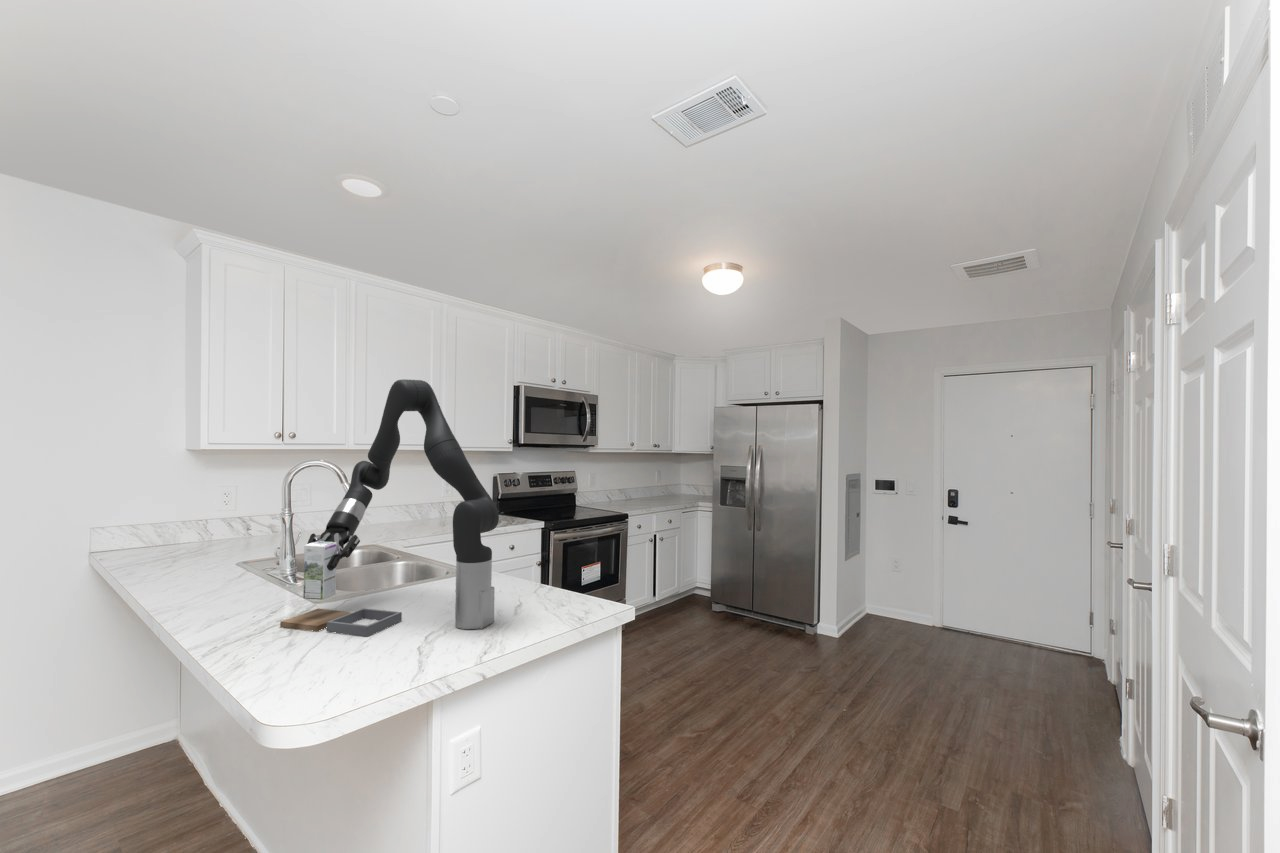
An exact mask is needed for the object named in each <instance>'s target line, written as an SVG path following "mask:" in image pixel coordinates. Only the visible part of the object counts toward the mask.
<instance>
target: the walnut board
mask: <svg viewBox="0 0 1280 853" xmlns="http://www.w3.org/2000/svg"><path fill="white" fill-rule="evenodd" d="M352 612H353V611H352ZM352 612H351V611H344V610H336V609H335V610H334V609H333V610H332V609H326V608H316V609H312V610H310V611H306V612H304V613H302V614H298V615H295V616H292V617H290V618H287V619H283V620H280V623H279V624H280V625H279V627H280V628H282V627H285V628H284V629H290V628H294V629H293V630H298V629H305V630H304V631H306V630H313V631H312V632H314V631H318V632H320V631H319V630H321V629H323V630H325V629H324V628H326V627H327V622H328V621H331V620H333V619H336V618H338V617H341V616H344V615H346V614H349V613H352ZM321 631H322V630H321Z"/></svg>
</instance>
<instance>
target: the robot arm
mask: <svg viewBox="0 0 1280 853" xmlns="http://www.w3.org/2000/svg"><path fill="white" fill-rule="evenodd" d="M404 412H418V413H419V415H420V416H421V418H422V421H423V422H424V424H425V429H426V430H425V435H424V440H423V450H424V454H425V456H426V458H427V460H428V462H429V464H430V466H431V467H432V469H433V471H434V472H435V473H436V474H437V475H438V476H439V477H440V478H441V479H443V480H444V481H445V482H446V483H447V484H448V485H450V487H452V488H454V490H456V491H457V492H458V494H459V495H460V496H461V498H462V499H463V501H461V502H460V503H458V504H456V506H455V508H454V510H453V515H452V540H453V541H452V544H453V549H454V552H455V558H456V560H455V603H454V604H455V605H454V606H455V608H454V610H455V612H454V613H455V614H454V618H455V619H454V626H455V627H456V628H458V629H460V630H462V629H463V630H475V629H477V630H478V629H480V630H481V629H485V628H486V627H487V626H489V625H491V624H492V623H495V590H496V589H495V586H493V585H492V575H493V574H492V570H493V569H492V567H493V564H492V563H493V550H492V548H491V547H490V546H486V545H484V544H483V543H482V536H481V534H483V533H488V532H491V531H494V529H496V528H497V527H498V525H499V521H500V514H499V510H498V508H497V506H496V503H495V502H494V500H493V499H492V497H491V496H490V494H489V493H488V492H487V490H486V489H485V487H484V486H483V484H482V483H481V481H480V480H479V478H478V477H477V475H476V474H475V472H474V469H473V468H472V466H471V464H470V463H469V461H468V459H467V457H466V455H465V452H464V451H463V449H462V447H461V445H460V444H459V442H458V440H457V439H456V437H455V435H454V434H453V431H452V429H451V427H450V425H449V423H448V421H447V420H446V417H445V416H444V413H443V411H442V408H441V406H440V403H439V401H438V398H437V395H436V393H435V392H434V389H433V388H432V386H431V385H430V384H429V383H428V382H427V381H425V380H421V379H398V380H395V381H394V382H393V384H391V387H390V389H389V391H388V394H387V398H386V402H385V405H384V408H383V412H382V417H381V421H380V425H379V429H378V431H377V433H376V435H375V438H374V440H373V442H372V444H371V446H370V449H369V451H368V453H367V458H368V460H369V461H367V460H361V461H359V462H357V463H356V464H355V465H354V467H353V470H352V473H351V479H350V483H349V484H350V485H349V487H348V490H347V491H346V493H345V495H344V496H343V498H342V500H341V501H340V503H339V504H338V505H337V506H336V509H335V510H334V512H333V514H332V515H331V516H330V519H329V520H328V522H327V524H326V526H325V530H324V531H323V532H322V533H320V534H317V535H316V534H315V533H311V534H310V536H309V538H308V541H307V544H309V543H312V542H336V543H337V546H336V550H335V555H333V556H332V557H331V559H330V561H329V563H328V565H327V568H328V569H329V571H333V569H335V568H337V566H338V564H339V563H340V560H342V559H343V558H346V559H347V558H348V559H349V557H350V556H351V555H352V554H353V552H354V551H355V550H356V548H357V546H358V545H359V544H360V542H361V540H360V538H359V537H358V535H357V534H356V531H357V529H358V527H359V525H360V523H361V522H362V520H363V518H364V515H365V512H366V510H367V508H368V506H369V505H370V503H371V501H372V499H373V493H372V491H371V490H370V489H369V488H371V489H373V490H377V491H379V490H381V489H383V488H385V487H386V486H387V484H388V482H389V480H390V473H391V472H390V471H391V464H392V461H393V459H394V458H395V455H396V453H397V450H398V449H399V446H400V444H401V436H400V435H401V434H400V430H399V420H400V418H401V417H402V414H403V413H404ZM307 544H306V545H307Z"/></svg>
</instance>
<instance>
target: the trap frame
mask: <svg viewBox="0 0 1280 853" xmlns="http://www.w3.org/2000/svg"><path fill="white" fill-rule="evenodd" d="M402 616H403V614H402V611H394V610H393V611H392V610H384V609H376V608H375V609H374V608H366V607H363V608H360V609H357V610H355V611H352V613H349V614H346V615H344V616H341V617H338V618H336V619H333V620H331V621H328V622H327V628H326V629H325V630H326V631H329V632H328V633H332V632H336V633H335V634H340V633H343V634H342V635H348V634H349V636H357V637H365V636H366V637H367V638H368V637H369V636H372V635H374V633H375V634H377V633H379V632H381V631H383V629H384V630H385V628H386V629H388V628H390V627H393V626H394V624H395V625H398V624H400V623H401V622H402ZM362 618H363V619H365V618H367V620H374V619H376V621H374V622H372V623H370V624H358V623H356V622H358V621H360V620H362ZM357 620H358V621H357ZM352 622H353V623H352ZM392 625H393V626H392ZM387 627H388V628H387ZM376 632H377V633H376Z"/></svg>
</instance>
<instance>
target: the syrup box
mask: <svg viewBox="0 0 1280 853" xmlns="http://www.w3.org/2000/svg"><path fill="white" fill-rule="evenodd" d="M336 546H337V543H336V542H312V543H309V544H304V547H303V548H304V551H303V552H304V553H303V558H304V559H303V561H304V562H303V594H302V595H303V597H302V598H303V600H305V599H306V600H307V599H308V600H321V601H322V600H325V599H328V598H330V597H333V596H334V595H335V596H336V594H337V593H336V592H337V590H336V587H337V586H336V585H337V582H336V580H337V575H336V574H337V569H336V568H337V567H336V568H335V569H333V571H329V569H328V568H327V565H328V563H329V561H330V559H331V557H332V556H333V555H335V550H336Z"/></svg>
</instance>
